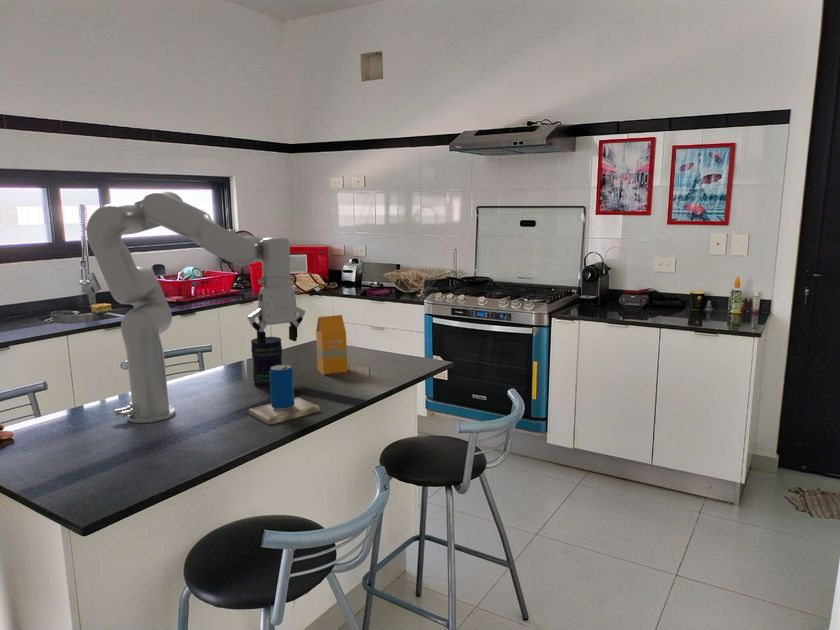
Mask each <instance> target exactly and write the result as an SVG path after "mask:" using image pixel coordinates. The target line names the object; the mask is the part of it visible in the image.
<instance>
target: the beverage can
mask: <svg viewBox="0 0 840 630" xmlns="http://www.w3.org/2000/svg"><path fill="white" fill-rule="evenodd" d="M293 371H294V370H293V369H292V366H291V365H289V364H282V365H275V366H272V367H271V370H270V372H269V375H270V404H271V406H272V407H273V408H274V409H275V410H288V409H291V408H292V406H294V404H295V403H294V398H295V389H294V388H295V387H294V373H293Z"/></svg>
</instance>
